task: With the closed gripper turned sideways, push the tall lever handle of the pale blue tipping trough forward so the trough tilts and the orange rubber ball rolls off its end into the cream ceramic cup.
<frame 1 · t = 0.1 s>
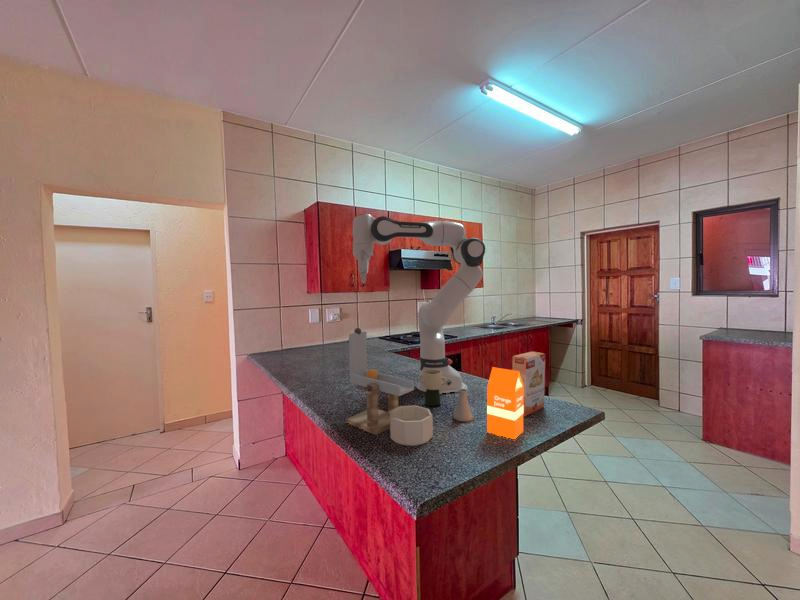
hand: (363, 283, 139), 48 cm above the countertop, tool pointing down, fingers open, 8 cm apart
cup: (410, 435, 97), on the countertop
character mug: (432, 404, 124), on the countertop
cracker box: (528, 410, 117), on the countertop
trough stand: (383, 425, 105), on the countertop
tipping trough: (379, 361, 105), point 21 cm above the countertop, hinge at 0.0°, touching ball
orange juice: (505, 432, 99), on the countertop
ball: (372, 375, 107), point 16 cm above the countertop, touching tipping trough
flask: (463, 418, 110), on the countertop
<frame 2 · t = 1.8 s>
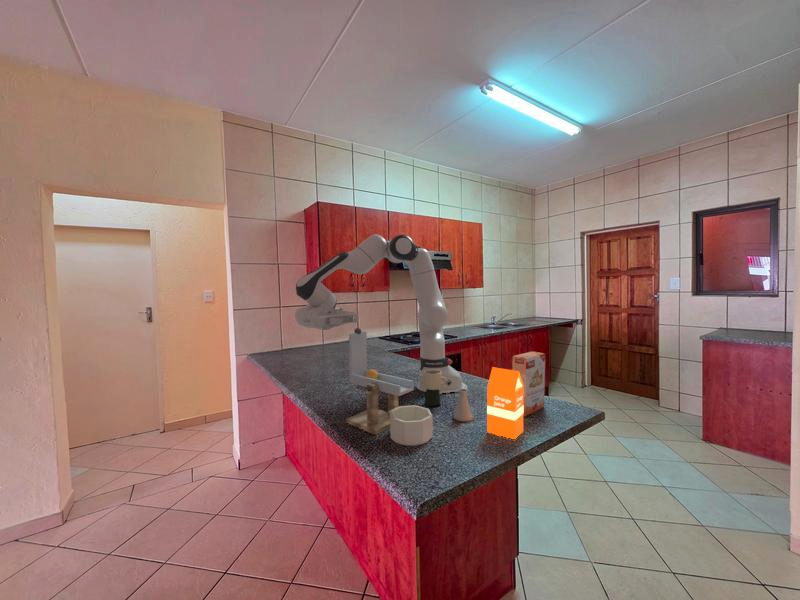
hand: (347, 320, 114), 34 cm above the countertop, tool horizontal, fingers open, 5 cm apart
nothing on the countertop moved.
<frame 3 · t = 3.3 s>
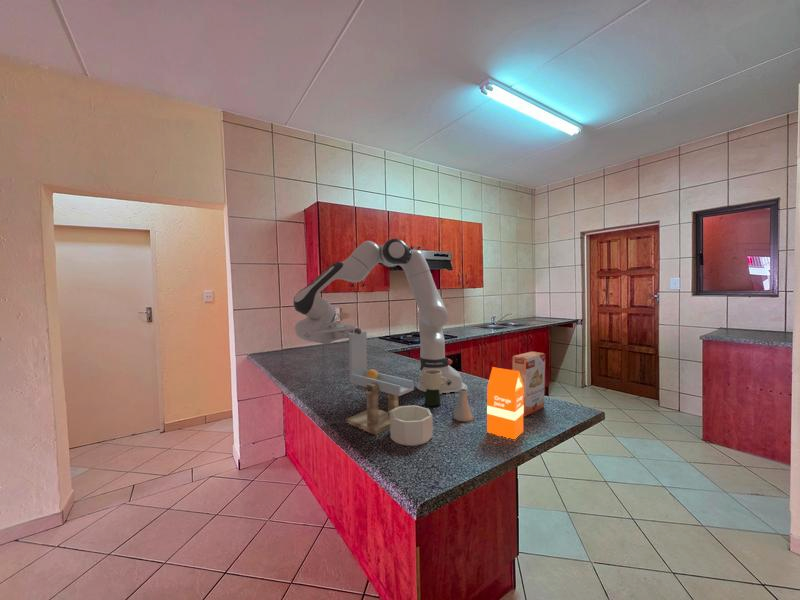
hand: (347, 335, 115), 28 cm above the countertop, tool horizontal, fingers closed
nothing on the countertop moved.
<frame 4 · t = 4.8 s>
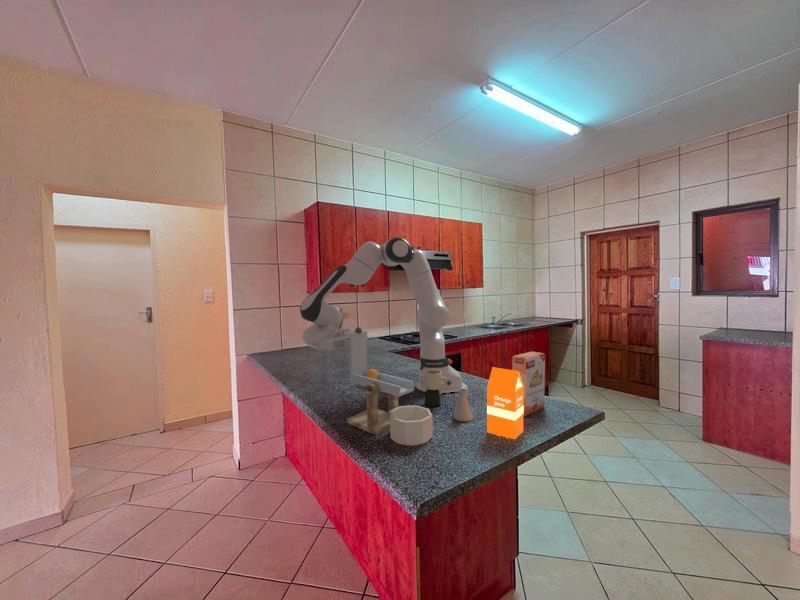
hand: (357, 343, 112), 26 cm above the countertop, tool horizontal, fingers closed, pressing on tipping trough
tipping trough: (379, 361, 105), point 21 cm above the countertop, hinge at 1.1°, touching ball, gripper
everything else where it was.
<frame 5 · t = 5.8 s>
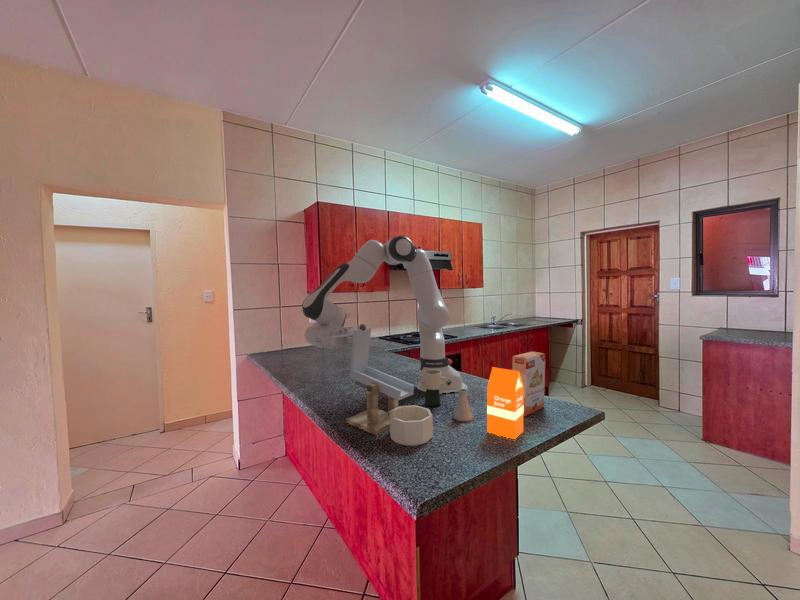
hand: (360, 340, 111), 27 cm above the countertop, tool horizontal, fingers closed, pressing on tipping trough
tipping trough: (381, 361, 104), point 21 cm above the countertop, hinge at 8.2°, touching gripper
ball: (410, 427, 97), point 3 cm above the countertop, tilted 136°, touching cup
everything else where it was.
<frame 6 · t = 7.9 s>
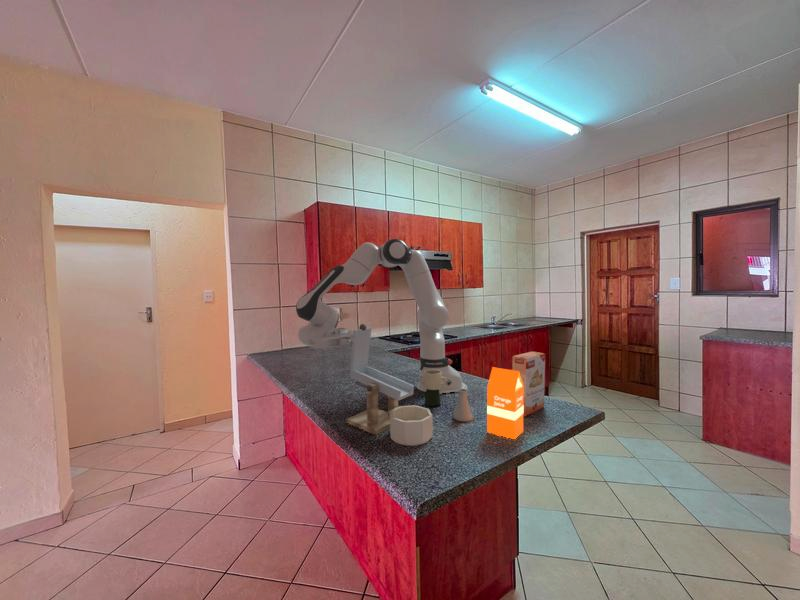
hand: (352, 342, 113), 26 cm above the countertop, tool horizontal, fingers closed
tipping trough: (381, 361, 104), point 21 cm above the countertop, hinge at 8.5°
ball: (409, 426, 98), point 3 cm above the countertop, tilted 106°, touching cup
everything else where it was.
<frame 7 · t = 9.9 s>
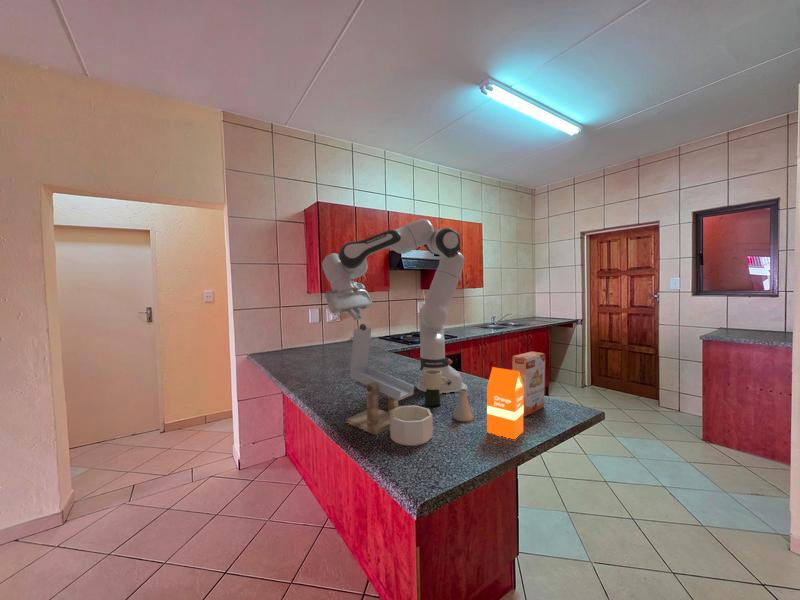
hand: (358, 319, 125), 33 cm above the countertop, tool tilted 35°, fingers closed
ball: (417, 429, 96), point 3 cm above the countertop, tilted 169°, touching cup
everything else where it was.
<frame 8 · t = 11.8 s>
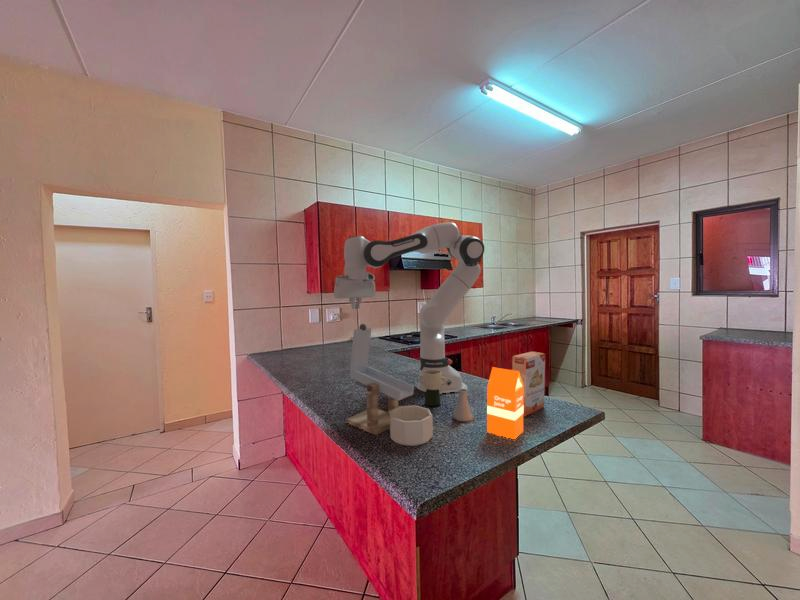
hand: (355, 309, 131), 37 cm above the countertop, tool pointing down, fingers closed
ball: (419, 430, 95), point 3 cm above the countertop, tilted 152°, touching cup
everything else where it was.
at the end: ball 3.1 cm from the cup (horizontally); ball point 2.6 cm above the countertop; the gripper is holding nothing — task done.
